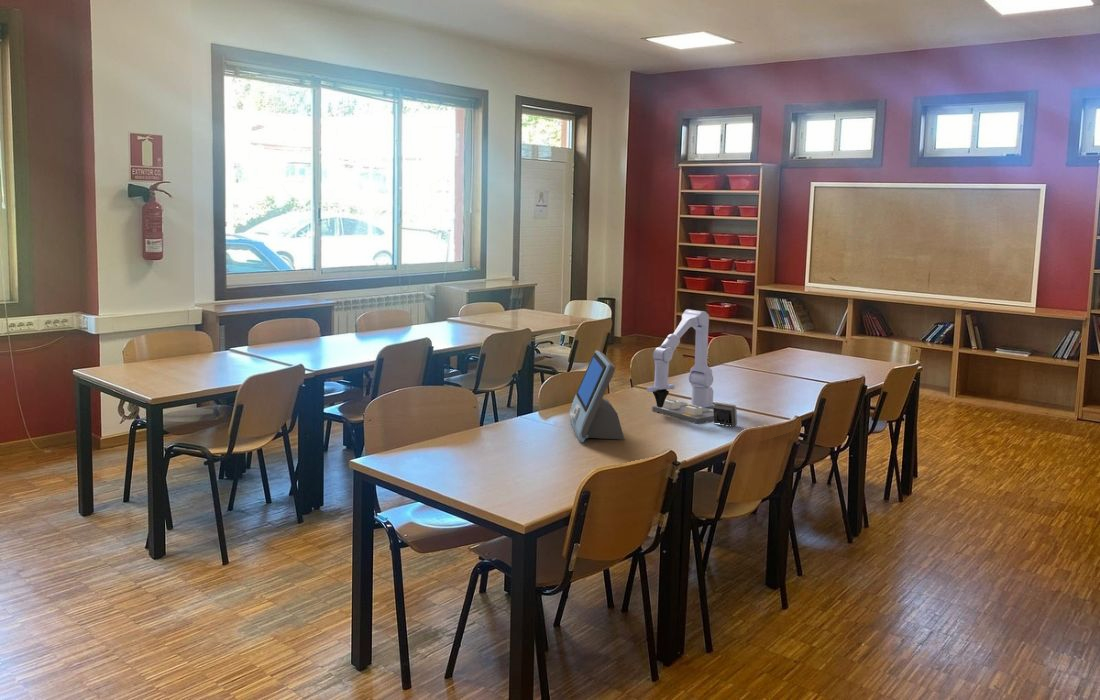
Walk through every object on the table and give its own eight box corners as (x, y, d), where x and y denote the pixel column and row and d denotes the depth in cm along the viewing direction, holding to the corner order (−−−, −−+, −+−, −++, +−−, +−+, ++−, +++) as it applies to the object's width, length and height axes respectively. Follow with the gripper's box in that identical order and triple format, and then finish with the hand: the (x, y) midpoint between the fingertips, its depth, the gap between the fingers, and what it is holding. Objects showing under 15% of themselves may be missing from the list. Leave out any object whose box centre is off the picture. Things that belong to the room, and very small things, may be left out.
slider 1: (671, 405, 374) (671, 397, 373) (679, 408, 370) (680, 399, 369) (663, 407, 371) (663, 399, 370) (671, 409, 367) (671, 401, 366)
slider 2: (693, 411, 364) (693, 403, 363) (702, 414, 360) (702, 405, 359) (684, 413, 361) (685, 404, 360) (693, 415, 357) (694, 407, 356)
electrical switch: (737, 425, 351) (737, 404, 349) (732, 429, 347) (733, 407, 344) (715, 422, 356) (716, 400, 354) (710, 425, 352) (711, 404, 349)
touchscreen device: (564, 420, 352) (569, 347, 347) (612, 422, 354) (617, 350, 349) (574, 443, 317) (580, 363, 313) (626, 445, 319) (633, 365, 315)
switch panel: (681, 406, 384) (682, 401, 383) (726, 418, 363) (726, 413, 363) (652, 410, 373) (652, 406, 373) (696, 423, 352) (696, 418, 352)
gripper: (655, 378, 356) (654, 410, 359) (680, 375, 365) (678, 406, 367) (643, 376, 362) (642, 407, 364) (668, 372, 371) (667, 403, 373)
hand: (659, 407), depth 366 cm, fingers closed
